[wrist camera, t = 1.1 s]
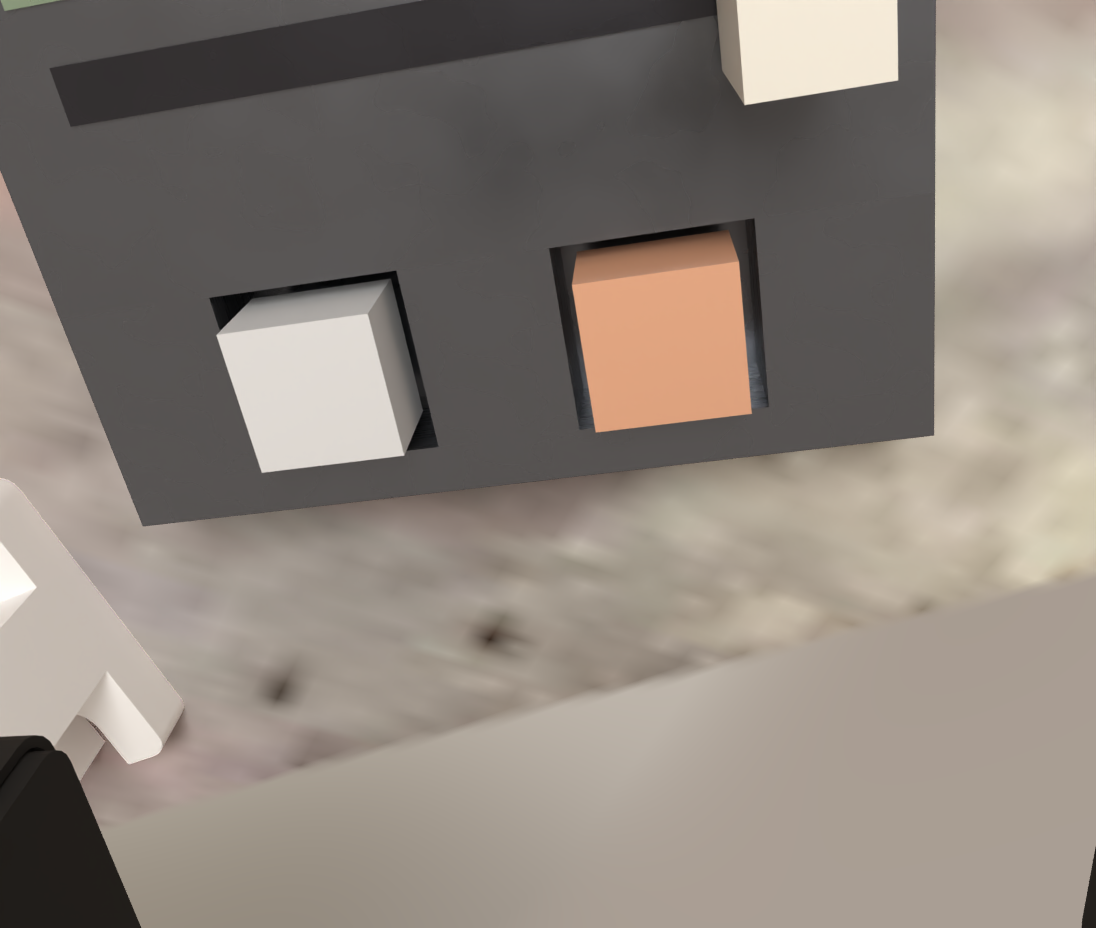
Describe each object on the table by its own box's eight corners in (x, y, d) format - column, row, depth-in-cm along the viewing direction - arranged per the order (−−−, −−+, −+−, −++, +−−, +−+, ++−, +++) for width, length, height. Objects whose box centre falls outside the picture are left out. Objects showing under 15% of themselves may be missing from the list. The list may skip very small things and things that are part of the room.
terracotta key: (728, 229, 24) (738, 261, 21) (740, 370, 25) (751, 413, 23) (577, 251, 24) (571, 284, 22) (598, 388, 26) (595, 432, 23)
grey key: (390, 278, 25) (367, 313, 22) (422, 410, 26) (404, 455, 24) (252, 298, 25) (216, 335, 23) (292, 427, 27) (261, 472, 24)
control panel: (891, -250, 21) (938, -281, 18) (899, 377, 27) (935, 437, 24) (-2, -69, 24) (-99, -68, 21) (192, 464, 30) (141, 528, 27)
